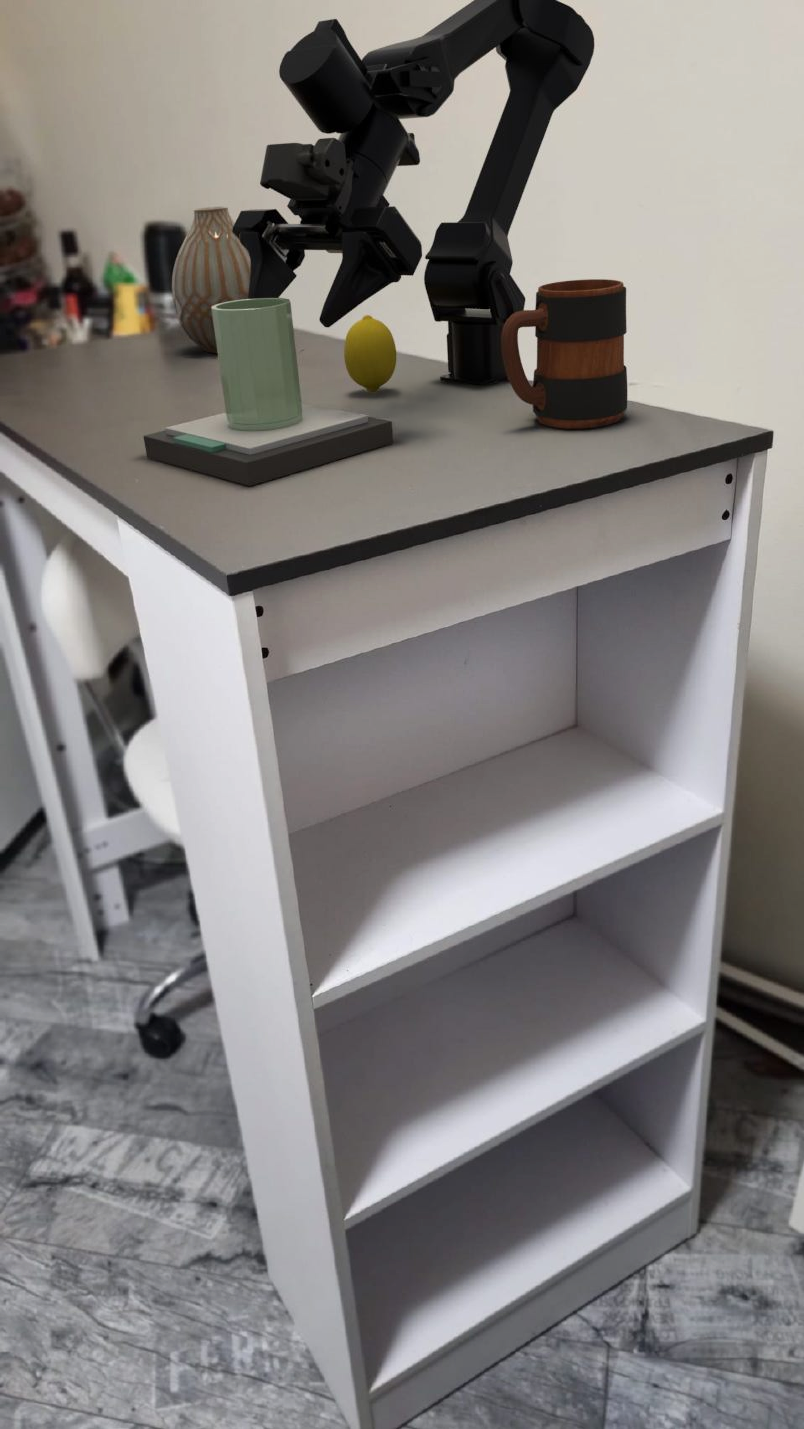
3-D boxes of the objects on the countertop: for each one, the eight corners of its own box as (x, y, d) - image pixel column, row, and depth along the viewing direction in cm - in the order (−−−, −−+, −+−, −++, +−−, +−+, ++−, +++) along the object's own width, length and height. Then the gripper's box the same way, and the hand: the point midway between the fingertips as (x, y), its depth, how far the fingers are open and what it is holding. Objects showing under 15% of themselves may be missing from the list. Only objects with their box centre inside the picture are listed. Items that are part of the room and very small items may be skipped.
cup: (299, 410, 101) (287, 295, 97) (305, 426, 96) (292, 305, 91) (227, 417, 101) (210, 302, 96) (228, 434, 95) (211, 312, 90)
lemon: (405, 387, 119) (400, 310, 116) (388, 399, 115) (382, 319, 111) (358, 387, 121) (352, 311, 117) (339, 398, 117) (332, 320, 113)
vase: (272, 336, 156) (256, 201, 148) (283, 351, 145) (266, 206, 136) (179, 346, 154) (158, 209, 146) (183, 362, 143) (160, 215, 134)
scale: (393, 443, 99) (391, 414, 97) (249, 486, 89) (245, 455, 88) (285, 420, 109) (282, 394, 108) (146, 457, 100) (141, 429, 99)
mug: (484, 421, 103) (480, 290, 98) (597, 403, 107) (599, 275, 101) (524, 441, 96) (522, 300, 91) (644, 421, 99) (649, 284, 94)
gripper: (232, 111, 98) (157, 260, 96) (390, 95, 87) (309, 263, 85) (304, 199, 107) (236, 337, 105) (455, 195, 96) (383, 349, 94)
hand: (286, 322), depth 97 cm, fingers open, 9 cm apart
